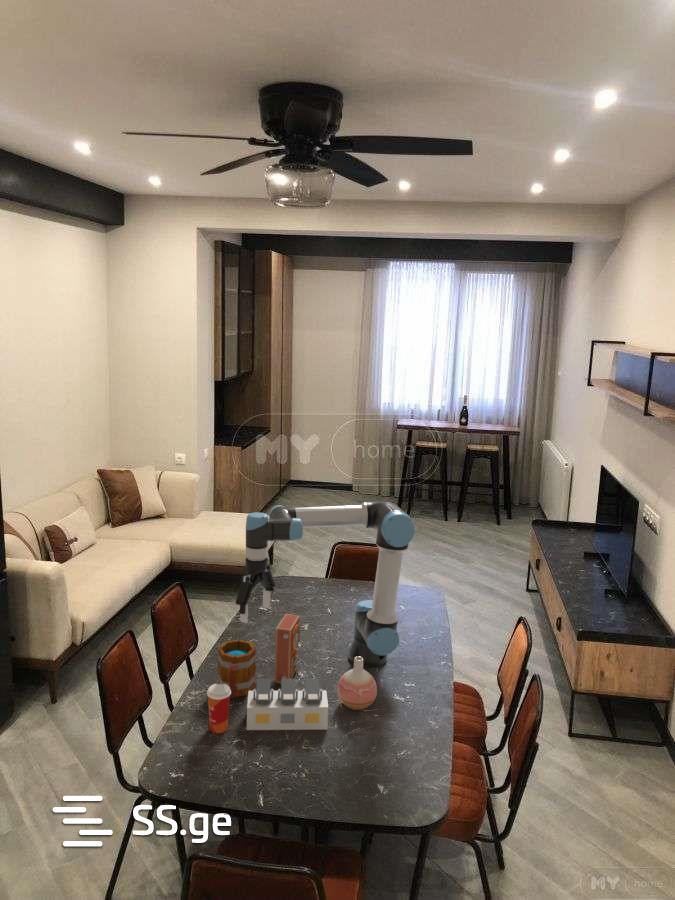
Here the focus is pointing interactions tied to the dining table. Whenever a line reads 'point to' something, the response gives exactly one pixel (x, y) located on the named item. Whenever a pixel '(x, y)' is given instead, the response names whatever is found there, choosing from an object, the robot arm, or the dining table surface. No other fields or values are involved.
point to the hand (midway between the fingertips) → (255, 614)
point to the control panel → (286, 647)
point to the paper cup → (218, 707)
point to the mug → (237, 666)
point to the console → (287, 713)
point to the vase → (357, 687)
